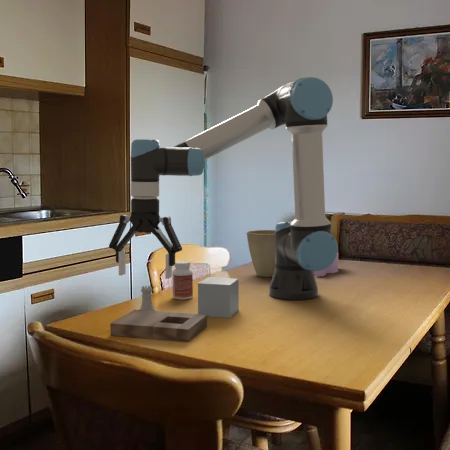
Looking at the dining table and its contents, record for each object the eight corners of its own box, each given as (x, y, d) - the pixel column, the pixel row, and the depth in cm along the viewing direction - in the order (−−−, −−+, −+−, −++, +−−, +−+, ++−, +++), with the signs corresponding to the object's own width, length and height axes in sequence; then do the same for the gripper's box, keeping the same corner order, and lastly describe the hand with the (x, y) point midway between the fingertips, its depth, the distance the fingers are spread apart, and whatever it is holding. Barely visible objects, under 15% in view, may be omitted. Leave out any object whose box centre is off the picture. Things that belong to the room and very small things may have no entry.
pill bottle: (196, 298, 190) (196, 262, 189) (179, 301, 187) (178, 264, 186) (186, 294, 195) (186, 259, 194) (169, 297, 192) (168, 261, 191)
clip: (326, 278, 222) (327, 259, 222) (294, 275, 228) (294, 256, 227) (342, 269, 240) (343, 251, 239) (312, 266, 246) (312, 249, 245)
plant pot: (295, 275, 227) (296, 231, 226) (268, 280, 217) (268, 235, 215) (265, 269, 238) (265, 228, 236) (238, 275, 228) (238, 231, 226)
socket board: (206, 326, 159) (206, 314, 158) (188, 341, 145) (188, 329, 145) (134, 320, 164) (134, 309, 164) (110, 335, 151) (110, 323, 151)
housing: (238, 310, 175) (238, 278, 174) (230, 318, 167) (229, 285, 166) (208, 308, 178) (207, 277, 177) (198, 315, 169) (197, 283, 168)
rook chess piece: (139, 313, 172) (138, 285, 171) (155, 313, 172) (155, 284, 171) (138, 317, 167) (137, 288, 166) (155, 317, 168) (154, 288, 167)
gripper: (194, 198, 166) (193, 276, 169) (109, 195, 173) (109, 271, 175) (184, 199, 159) (184, 281, 161) (96, 197, 166) (96, 275, 168)
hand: (145, 276), depth 168 cm, fingers open, 13 cm apart
